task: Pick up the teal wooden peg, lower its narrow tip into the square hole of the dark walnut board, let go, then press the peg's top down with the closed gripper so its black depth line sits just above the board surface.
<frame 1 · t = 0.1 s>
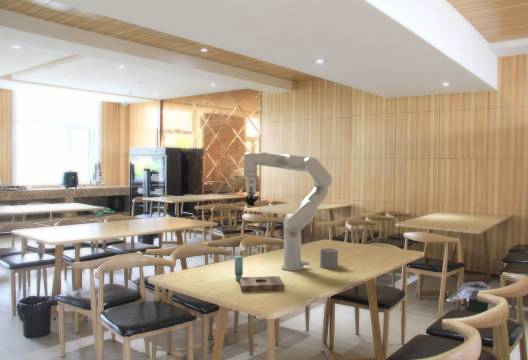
hand: (250, 204, 251), 37 cm above the table, tool pointing down, fingers open, 9 cm apart
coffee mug: (330, 266, 260), on the table
walnut board: (261, 287, 216), on the table
teal peg: (238, 279, 230), on the table
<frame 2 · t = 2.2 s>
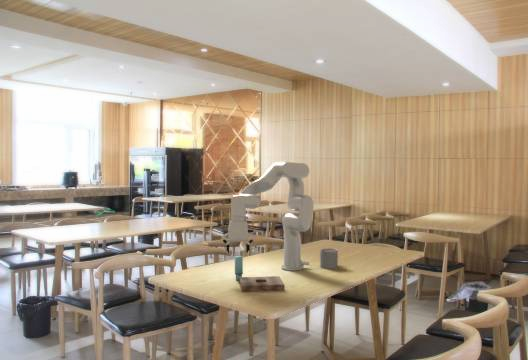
hand: (237, 252, 229), 14 cm above the table, tool pointing down, fingers open, 9 cm apart
nothing on the table moved.
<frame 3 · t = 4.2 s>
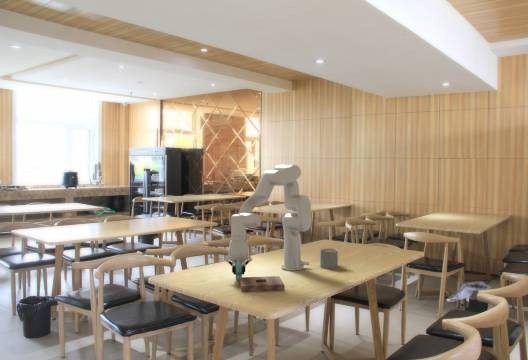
hand: (238, 273, 230), 3 cm above the table, tool pointing down, fingers closed on teal peg, 4 cm apart
teal peg: (238, 279, 230), on the table, touching gripper
everything else where it was.
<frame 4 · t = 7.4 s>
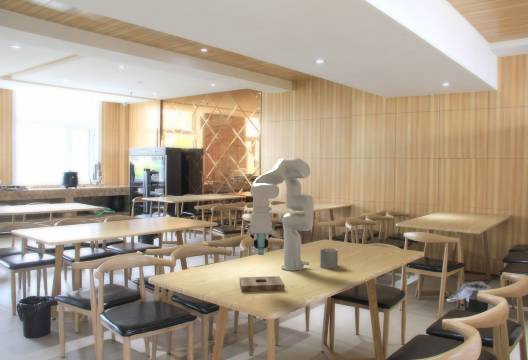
hand: (260, 247, 216), 19 cm above the table, tool pointing down, fingers closed on teal peg, 4 cm apart
teal peg: (261, 254, 216), point 16 cm above the table, touching gripper
everything else where it was.
when the fingers open (5 cm above the table, at t = 10.7 s): teal peg drops 2 cm, resting in walnut board.
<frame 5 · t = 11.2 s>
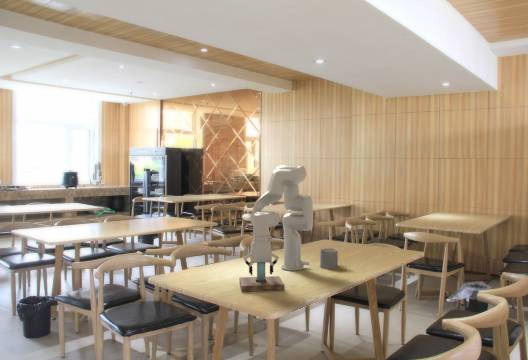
hand: (261, 274, 216), 6 cm above the table, tool pointing down, fingers open, 9 cm apart
teal peg: (261, 287, 216), resting in walnut board
everything else where it was.
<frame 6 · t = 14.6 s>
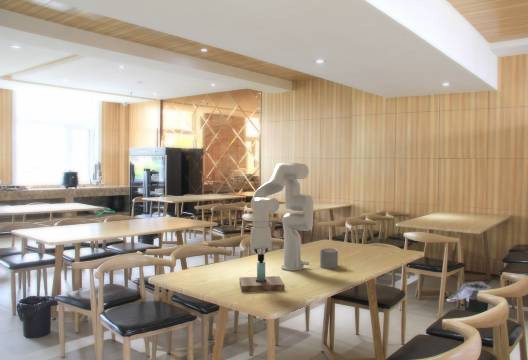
hand: (261, 262, 216), 12 cm above the table, tool pointing down, fingers closed
teal peg: (261, 287, 216), resting in walnut board, touching gripper
everything else where it was.
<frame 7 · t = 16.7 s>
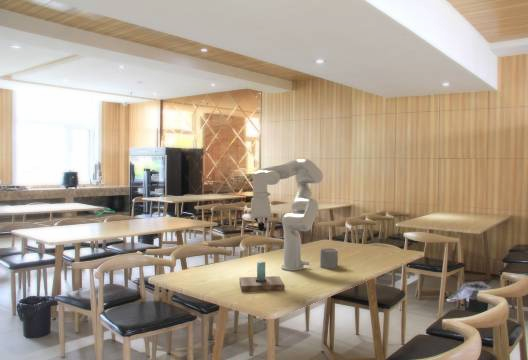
hand: (261, 230, 233), 25 cm above the table, tool pointing down, fingers closed
teal peg: (261, 287, 216), resting in walnut board
everything else where it was.
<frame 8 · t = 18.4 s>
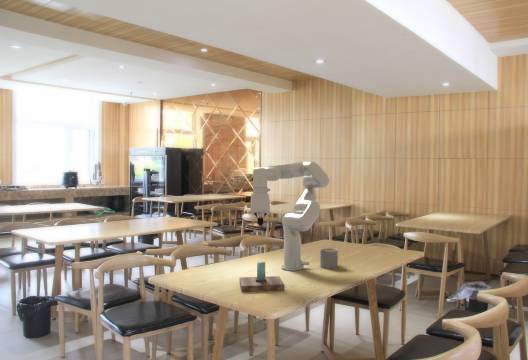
hand: (260, 225, 237), 27 cm above the table, tool pointing down, fingers closed
nothing on the table moved.
at the end: teal peg 0.0 cm off-centre on the walnut board, point 0.0 cm above the walnut board's base; teal peg tilted 0°; the gripper is holding nothing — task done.
